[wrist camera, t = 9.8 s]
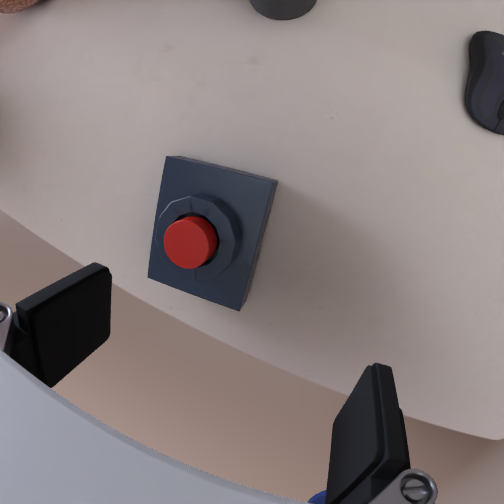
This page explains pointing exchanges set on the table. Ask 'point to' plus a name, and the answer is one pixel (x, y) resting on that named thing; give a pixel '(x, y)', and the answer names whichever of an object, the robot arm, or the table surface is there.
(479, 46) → the computer mouse
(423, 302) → the table surface
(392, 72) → the table surface
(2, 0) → the planter
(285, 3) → the bottle
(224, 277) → the button box
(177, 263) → the button
